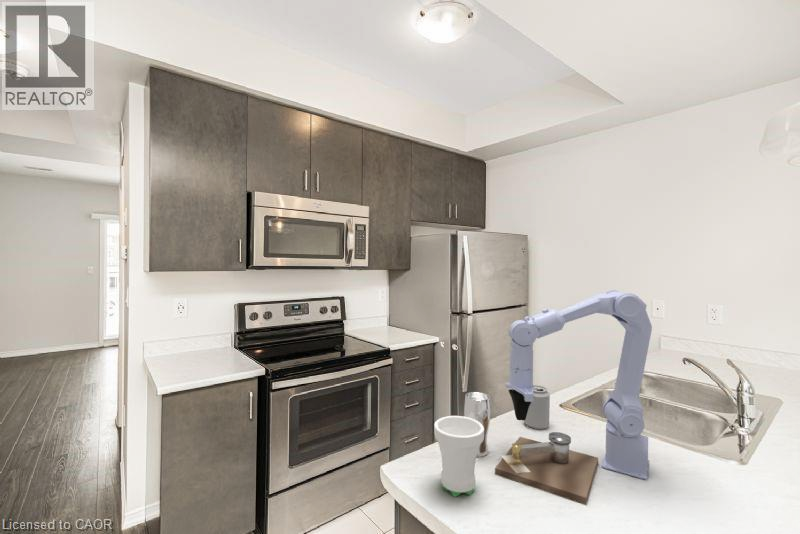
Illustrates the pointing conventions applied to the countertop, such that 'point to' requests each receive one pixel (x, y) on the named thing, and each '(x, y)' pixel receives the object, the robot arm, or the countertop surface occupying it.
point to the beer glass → (479, 414)
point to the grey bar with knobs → (546, 448)
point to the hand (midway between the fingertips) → (520, 419)
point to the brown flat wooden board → (551, 472)
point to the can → (539, 409)
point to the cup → (458, 451)
